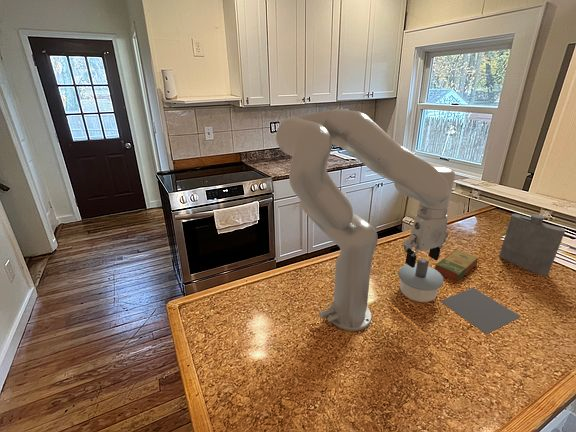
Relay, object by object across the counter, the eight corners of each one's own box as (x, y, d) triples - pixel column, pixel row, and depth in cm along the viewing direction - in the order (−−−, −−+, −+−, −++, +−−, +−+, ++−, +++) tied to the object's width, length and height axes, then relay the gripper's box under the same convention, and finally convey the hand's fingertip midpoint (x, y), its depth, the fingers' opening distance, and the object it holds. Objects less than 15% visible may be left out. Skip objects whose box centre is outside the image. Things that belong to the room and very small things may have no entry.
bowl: (417, 308, 92) (420, 292, 89) (392, 288, 101) (394, 273, 99) (443, 297, 96) (447, 282, 93) (417, 279, 105) (419, 264, 103)
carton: (476, 266, 112) (479, 257, 110) (456, 284, 102) (459, 274, 101) (453, 257, 117) (455, 248, 116) (432, 273, 108) (434, 263, 107)
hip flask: (549, 274, 106) (570, 222, 97) (544, 277, 104) (564, 225, 96) (502, 253, 118) (516, 206, 110) (496, 256, 117) (510, 209, 108)
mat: (485, 335, 81) (486, 334, 81) (439, 302, 94) (440, 300, 94) (520, 318, 87) (521, 316, 87) (472, 288, 99) (473, 287, 99)
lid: (421, 295, 88) (424, 278, 86) (389, 272, 99) (392, 256, 97) (452, 283, 93) (456, 266, 90) (419, 262, 104) (422, 247, 101)
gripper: (419, 220, 80) (409, 274, 87) (464, 210, 87) (451, 261, 93) (399, 211, 86) (391, 262, 93) (442, 202, 93) (432, 250, 100)
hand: (421, 261), depth 93 cm, fingers open, 9 cm apart
